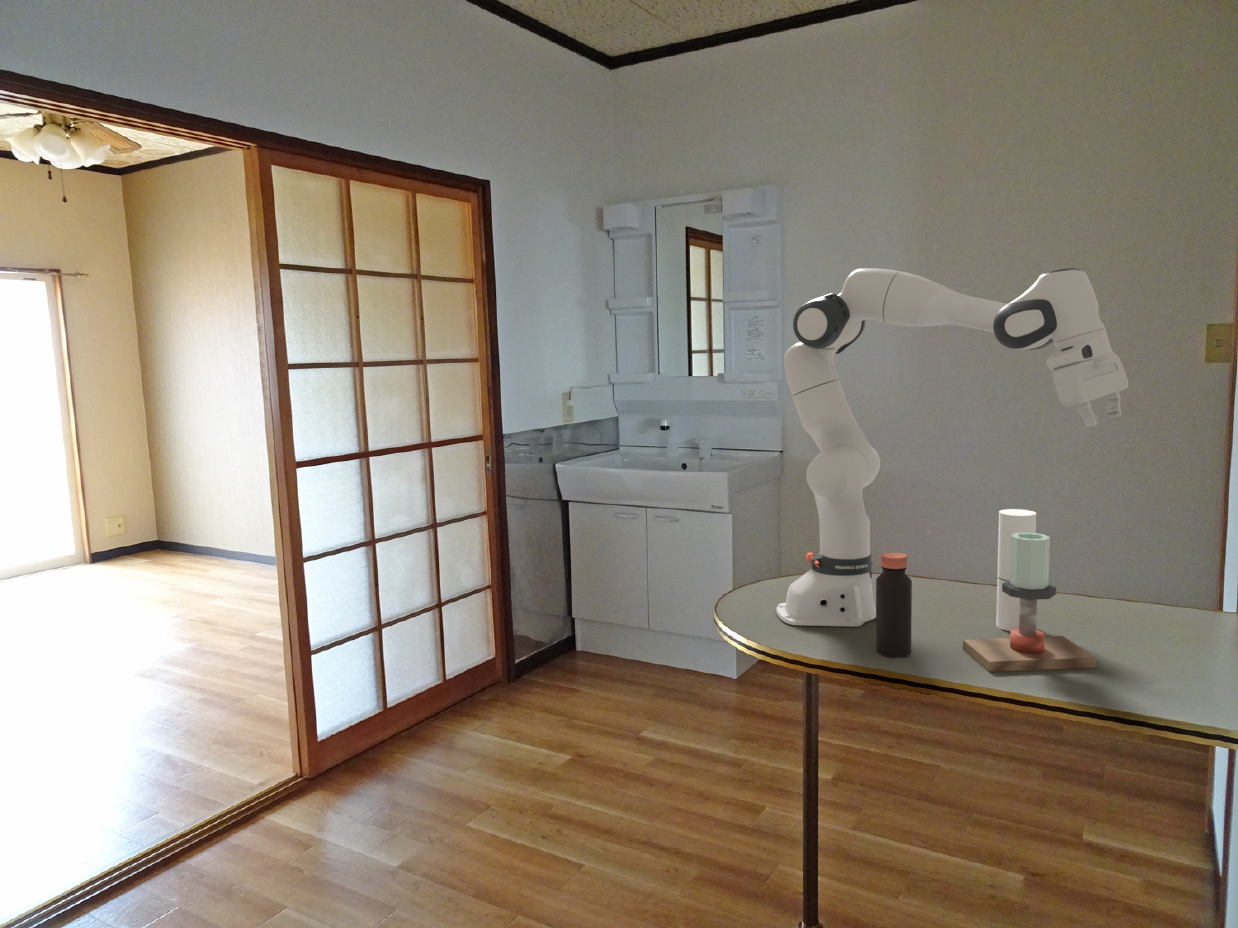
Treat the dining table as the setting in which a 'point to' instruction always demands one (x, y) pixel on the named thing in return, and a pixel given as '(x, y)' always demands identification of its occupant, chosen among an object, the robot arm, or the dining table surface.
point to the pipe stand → (1028, 648)
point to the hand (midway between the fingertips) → (1104, 421)
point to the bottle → (893, 607)
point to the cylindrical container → (1009, 525)
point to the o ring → (1029, 592)
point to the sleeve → (1029, 560)
